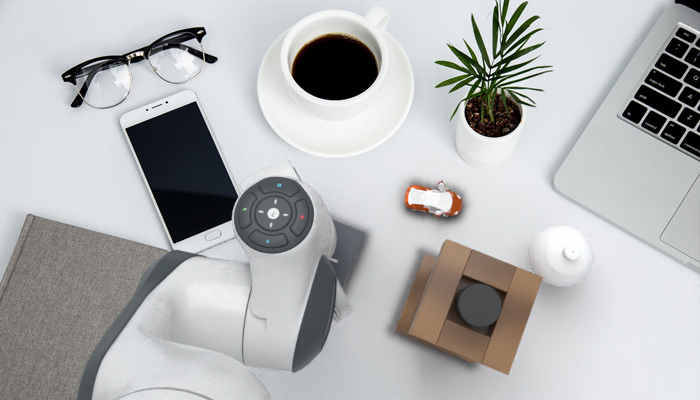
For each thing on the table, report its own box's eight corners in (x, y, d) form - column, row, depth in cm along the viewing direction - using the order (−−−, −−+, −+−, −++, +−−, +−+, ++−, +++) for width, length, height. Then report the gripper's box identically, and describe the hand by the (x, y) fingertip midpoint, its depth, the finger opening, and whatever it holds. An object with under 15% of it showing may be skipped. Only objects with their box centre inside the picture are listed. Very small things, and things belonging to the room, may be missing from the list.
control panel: (337, 303, 84) (336, 302, 80) (257, 269, 85) (253, 268, 82) (365, 235, 85) (365, 232, 82) (286, 203, 86) (283, 199, 83)
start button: (487, 332, 60) (493, 333, 57) (448, 316, 60) (452, 317, 57) (501, 294, 61) (507, 293, 58) (462, 279, 61) (467, 277, 58)
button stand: (471, 363, 81) (511, 382, 58) (394, 330, 83) (403, 337, 59) (499, 285, 83) (549, 274, 60) (423, 255, 84) (443, 232, 61)
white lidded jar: (520, 291, 83) (545, 287, 71) (512, 235, 84) (535, 222, 73) (577, 286, 83) (611, 281, 71) (568, 230, 84) (600, 216, 72)
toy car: (458, 225, 85) (461, 221, 82) (401, 213, 86) (402, 210, 82) (464, 189, 86) (468, 184, 83) (408, 178, 86) (409, 173, 83)
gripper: (364, 308, 66) (365, 309, 80) (282, 146, 70) (297, 173, 83) (312, 335, 66) (322, 332, 79) (232, 171, 70) (255, 194, 83)
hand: (308, 249), depth 82 cm, fingers open, 8 cm apart
